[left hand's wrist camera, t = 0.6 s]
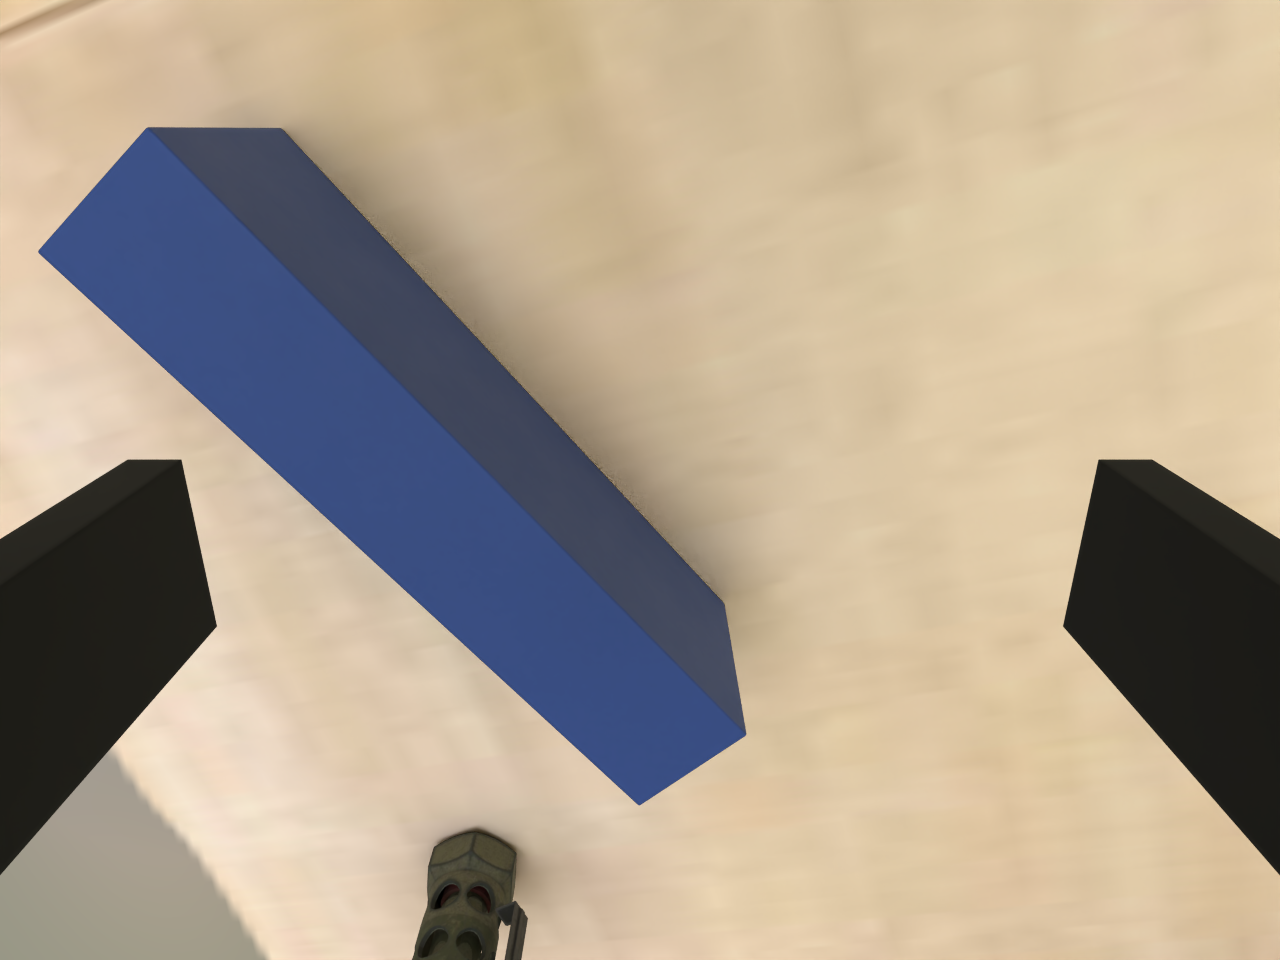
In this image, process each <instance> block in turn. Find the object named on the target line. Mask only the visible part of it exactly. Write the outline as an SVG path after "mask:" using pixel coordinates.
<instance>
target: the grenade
mask: <svg viewBox="0 0 1280 960" xmlns="http://www.w3.org/2000/svg"><path fill="white" fill-rule="evenodd" d="M515 875H516V853H515V852H514V851H513V850H512V849H510V848H509V847H508V846H507V845H505V844H503V843H502V842H500V841H499V840H497V839H495V838H492V837H490V836H488V835H485V834H481V833H478V832H472V833H465V834H462V835H458V836H455V837H453V838H450V839H448V840H446V841H444V842H442V843H440V844H439V845H437V846H435V847H434V849H433V852H432V856H431V859H430V862H429V866H428V882H427V893H428V906H427V909H426V912H425V915H424V917H423V920H422V924H421V927H420V930H419V934H418V937H417V941H416V944H415V952H414V956H413V959H412V960H495V956H496V951H497V945H498V939H499V931H498V929H499V926H500V923H501V920H502V921H503V923H504V924H505V925H507V926H508V925H511V927H510V933H509V938H508V944H507V949H506V955H505V960H521V958H522V951H523V945H524V939H525V933H526V926H527V920H528V918H527V916H526V915H525V912H524V911H523V909H521V908H520V906H519V905H518V904H517V902H516V901H514V902H512V900H513V894H514V888H515ZM481 950H482V953H481Z"/></svg>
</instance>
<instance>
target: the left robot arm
mask: <svg viewBox="0 0 1280 960" xmlns="http://www.w3.org/2000/svg"><path fill="white" fill-rule="evenodd" d="M216 627H217V624H216V620H215V615H214V610H213V606H212V601H211V596H210V592H209V587H208V582H207V578H206V573H205V568H204V564H203V559H202V554H201V549H200V545H199V540H198V535H197V531H196V526H195V521H194V517H193V512H192V507H191V503H190V498H189V493H188V489H187V484H186V479H185V475H184V470H183V465H182V460H126V461H125V462H123V463H122V464H120V465H118V466H117V467H115V468H114V469H112V470H110V471H109V472H107V473H106V474H104V475H102V476H101V477H99V478H98V479H96V480H94V481H93V482H91V483H90V484H88V485H86V486H85V487H83V488H81V489H80V490H78V491H77V492H75V493H73V494H72V495H70V496H69V497H67V498H65V499H64V500H62V501H61V502H59V503H57V504H56V505H54V506H53V507H51V508H49V509H48V510H46V511H45V512H43V513H41V514H40V515H38V516H37V517H35V518H33V519H32V520H30V521H28V522H27V523H25V524H24V525H22V526H20V527H19V528H17V529H16V530H14V531H12V532H11V533H9V534H8V535H6V536H4V537H3V538H1V539H0V875H1V874H2V872H3V871H4V870H5V869H6V868H7V867H8V865H9V864H10V863H11V862H12V861H13V860H14V859H15V857H16V856H17V855H18V854H19V853H20V852H21V851H22V849H23V848H24V847H25V846H26V845H27V844H28V842H29V841H30V840H31V839H32V838H33V837H34V836H35V835H36V833H37V832H38V831H39V830H40V829H41V828H42V826H43V825H44V824H45V823H46V822H47V821H48V820H49V818H50V817H51V816H52V815H53V814H54V813H55V811H56V810H57V809H58V808H59V807H60V806H61V805H62V803H63V802H64V801H65V800H66V799H67V798H68V797H69V795H70V794H71V793H72V792H73V791H74V790H75V789H76V787H77V786H78V785H79V784H80V783H81V782H82V781H83V779H84V778H85V777H86V776H87V775H88V774H89V772H90V771H91V770H92V769H93V768H94V767H95V766H96V764H97V763H98V762H99V761H100V760H101V759H102V758H103V756H104V755H105V754H106V753H107V752H108V751H109V750H110V748H111V747H112V746H113V745H114V744H115V743H116V742H117V740H118V739H119V738H120V737H121V736H122V735H123V734H124V732H125V731H126V730H127V729H128V728H129V727H130V725H131V724H132V723H133V722H134V721H135V720H136V719H137V717H138V716H139V715H140V714H141V713H142V712H143V711H144V709H145V708H146V707H147V706H148V705H149V704H150V703H151V701H152V700H153V699H154V698H155V697H156V696H157V694H158V693H159V692H160V691H161V690H162V689H163V688H164V686H165V685H166V684H167V683H168V682H169V681H170V680H171V678H172V677H173V676H174V675H175V674H176V673H177V672H178V670H179V669H180V668H181V667H182V666H183V665H184V664H185V662H186V661H187V660H188V659H189V658H190V657H191V655H192V654H193V653H194V652H195V651H196V650H197V649H198V647H199V646H200V645H201V644H202V643H203V642H204V641H205V639H206V638H207V637H208V636H209V635H210V634H211V633H212V631H213V630H214V629H215V628H216ZM1063 627H1064V628H1065V629H1066V630H1067V631H1068V633H1069V634H1070V635H1071V636H1072V637H1073V638H1074V639H1075V641H1076V642H1077V643H1078V644H1079V645H1080V646H1081V647H1082V649H1083V650H1084V651H1085V652H1086V653H1087V654H1088V655H1089V657H1090V658H1091V659H1092V660H1093V661H1094V662H1095V664H1096V665H1097V666H1098V667H1099V668H1100V669H1101V670H1102V672H1103V673H1104V674H1105V675H1106V676H1107V677H1108V678H1109V680H1110V681H1111V682H1112V683H1113V684H1114V685H1115V686H1116V688H1117V689H1118V690H1119V691H1120V692H1121V693H1122V694H1123V696H1124V697H1125V698H1126V699H1127V700H1128V701H1129V703H1130V704H1131V705H1132V706H1133V707H1134V708H1135V709H1136V711H1137V712H1138V713H1139V714H1140V715H1141V716H1142V717H1143V719H1144V720H1145V721H1146V722H1147V723H1148V724H1149V725H1150V727H1151V728H1152V729H1153V730H1154V731H1155V732H1156V734H1157V735H1158V736H1159V737H1160V738H1161V739H1162V740H1163V742H1164V743H1165V744H1166V745H1167V746H1168V747H1169V748H1170V750H1171V751H1172V752H1173V753H1174V754H1175V755H1176V756H1177V758H1178V759H1179V760H1180V761H1181V762H1182V763H1183V765H1184V766H1185V767H1186V768H1187V769H1188V770H1189V771H1190V773H1191V774H1192V775H1193V776H1194V777H1195V778H1196V779H1197V781H1198V782H1199V783H1200V784H1201V785H1202V786H1203V787H1204V789H1205V790H1206V791H1207V792H1208V793H1209V794H1210V795H1211V797H1212V798H1213V799H1214V800H1215V801H1216V802H1217V804H1218V805H1219V806H1220V807H1221V808H1222V809H1223V810H1224V812H1225V813H1226V814H1227V815H1228V816H1229V817H1230V818H1231V820H1232V821H1233V822H1234V823H1235V824H1236V825H1237V826H1238V828H1239V829H1240V830H1241V831H1242V832H1243V833H1244V835H1245V836H1246V837H1247V838H1248V839H1249V840H1250V841H1251V843H1252V844H1253V845H1254V846H1255V847H1256V848H1257V849H1258V851H1259V852H1260V853H1261V854H1262V855H1263V856H1264V857H1265V859H1266V860H1267V861H1268V862H1269V863H1270V864H1271V865H1272V867H1273V868H1274V869H1275V870H1276V871H1277V872H1278V874H1279V875H1280V539H1279V538H1277V537H1276V536H1274V535H1272V534H1271V533H1269V532H1268V531H1266V530H1264V529H1263V528H1261V527H1260V526H1258V525H1256V524H1255V523H1253V522H1252V521H1250V520H1248V519H1247V518H1245V517H1243V516H1242V515H1240V514H1239V513H1237V512H1235V511H1234V510H1232V509H1231V508H1229V507H1227V506H1226V505H1224V504H1223V503H1221V502H1219V501H1218V500H1216V499H1215V498H1213V497H1211V496H1210V495H1208V494H1207V493H1205V492H1203V491H1202V490H1200V489H1199V488H1197V487H1195V486H1194V485H1192V484H1190V483H1189V482H1187V481H1186V480H1184V479H1182V478H1181V477H1179V476H1178V475H1176V474H1174V473H1173V472H1171V471H1170V470H1168V469H1166V468H1165V467H1163V466H1162V465H1160V464H1158V463H1157V462H1155V461H1154V460H1098V465H1097V470H1096V474H1095V479H1094V484H1093V489H1092V493H1091V498H1090V503H1089V507H1088V512H1087V517H1086V521H1085V526H1084V531H1083V535H1082V540H1081V545H1080V549H1079V554H1078V559H1077V564H1076V568H1075V573H1074V578H1073V582H1072V587H1071V592H1070V596H1069V601H1068V606H1067V610H1066V615H1065V620H1064V624H1063Z"/></svg>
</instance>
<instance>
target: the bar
mask: <svg viewBox="0 0 1280 960" xmlns="http://www.w3.org/2000/svg"><path fill="white" fill-rule="evenodd" d="M38 252H39V254H40V255H41V256H43V257H44V258H45V259H46V260H47V261H48V262H49V263H50V264H51V265H52V266H53V267H54V268H56V269H57V270H58V271H59V272H60V273H61V274H62V275H63V276H64V277H65V278H66V279H67V280H69V281H70V282H71V283H72V284H73V285H74V286H75V287H76V288H77V289H78V290H79V291H81V292H82V293H83V294H84V295H85V296H86V297H87V298H88V299H89V300H90V301H91V302H92V303H94V304H95V305H96V306H97V307H98V308H99V309H100V310H101V311H102V312H103V313H104V314H106V315H107V316H108V317H109V318H110V319H111V320H112V321H113V322H114V323H115V324H116V325H117V326H119V327H120V328H121V329H122V330H123V331H124V332H125V333H126V334H127V335H128V336H129V337H130V338H132V339H133V340H134V341H135V342H136V343H137V344H138V345H139V346H140V347H141V348H142V349H144V350H145V351H146V352H147V353H148V354H149V355H150V356H151V357H152V358H153V359H154V360H155V361H157V362H158V363H159V364H160V365H161V366H162V367H163V368H164V369H165V370H166V371H167V372H169V373H170V374H171V375H172V376H173V377H174V378H175V379H176V380H177V381H178V382H179V383H180V384H182V385H183V386H184V387H185V388H186V389H187V390H188V391H189V392H190V393H191V394H192V395H194V396H195V397H196V398H197V399H198V400H199V401H200V402H201V403H202V404H203V405H204V406H205V407H207V408H208V409H209V410H210V411H211V412H212V413H213V414H214V415H215V416H216V417H217V418H218V419H220V420H221V421H222V422H223V423H224V424H225V425H226V426H227V427H228V428H229V429H230V430H232V431H233V432H234V433H235V434H236V435H237V436H238V437H239V438H240V439H241V440H242V441H243V442H245V443H246V444H247V445H248V446H249V447H250V448H251V449H252V450H253V451H254V452H255V453H257V454H258V455H259V456H260V457H261V458H262V459H263V460H264V461H265V462H266V463H267V464H268V465H270V466H271V467H272V468H273V469H274V470H275V471H276V472H277V473H278V474H279V475H280V476H281V477H283V478H284V479H285V480H286V481H287V482H288V483H289V484H290V485H291V486H292V487H293V488H295V489H296V490H297V491H298V492H299V493H300V494H301V495H302V496H303V497H304V498H305V499H306V500H308V501H309V502H310V503H311V504H312V505H313V506H314V507H315V508H316V509H317V510H318V511H320V512H321V513H322V514H323V515H324V516H325V517H326V518H327V519H328V520H329V521H330V522H331V523H333V524H334V525H335V526H336V527H337V528H338V529H339V530H340V531H341V532H342V533H343V534H344V535H346V536H347V537H348V538H349V539H350V540H351V541H352V542H353V543H354V544H355V545H356V546H358V547H359V548H360V549H361V550H362V551H363V552H364V553H365V554H366V555H367V556H368V557H369V558H371V559H372V560H373V561H374V562H375V563H376V564H377V565H378V566H379V567H380V568H381V569H383V570H384V571H385V572H386V573H387V574H388V575H389V576H390V577H391V578H392V579H393V580H394V581H396V582H397V583H398V584H399V585H400V586H401V587H402V588H403V589H404V590H405V591H406V592H407V593H409V594H410V595H411V596H412V597H413V598H414V599H415V600H416V601H417V602H418V603H419V604H421V605H422V606H423V607H424V608H425V609H426V610H427V611H428V612H429V613H430V614H431V615H432V616H434V617H435V618H436V619H437V620H438V621H439V622H440V623H441V624H442V625H443V626H444V627H446V628H447V629H448V630H449V631H450V632H451V633H452V634H453V635H454V636H455V637H456V638H457V639H459V640H460V641H461V642H462V643H463V644H464V645H465V646H466V647H467V648H468V649H469V650H470V651H472V652H473V653H474V654H475V655H476V656H477V657H478V658H479V659H480V660H481V661H482V662H484V663H485V664H486V665H487V666H488V667H489V668H490V669H491V670H492V671H493V672H494V673H495V674H497V675H498V676H499V677H500V678H501V679H502V680H503V681H504V682H505V683H506V684H507V685H509V686H510V687H511V688H512V689H513V690H514V691H515V692H516V693H517V694H518V695H519V696H520V697H522V698H523V699H524V700H525V701H526V702H527V703H528V704H529V705H530V706H531V707H532V708H533V709H535V710H536V711H537V712H538V713H539V714H540V715H541V716H542V717H543V718H544V719H545V720H547V721H548V722H549V723H550V724H551V725H552V726H553V727H554V728H555V729H556V730H557V731H558V732H560V733H561V734H562V735H563V736H564V737H565V738H566V739H567V740H568V741H569V742H570V743H572V744H573V745H574V746H575V747H576V748H577V749H578V750H579V751H580V752H581V753H582V754H583V755H585V756H586V757H587V758H588V759H589V760H590V761H591V762H592V763H593V764H594V765H595V766H596V767H598V768H599V769H600V770H601V771H602V772H603V773H604V774H605V775H606V776H607V777H608V778H610V779H611V780H612V781H613V782H614V783H615V784H616V785H617V786H618V787H619V788H620V789H621V790H623V791H624V792H625V793H626V794H627V795H628V796H629V797H630V798H631V799H632V800H633V801H635V802H636V803H637V804H638V805H641V804H643V803H644V802H646V801H647V800H649V799H650V798H652V797H653V796H655V795H656V794H658V793H659V792H661V791H662V790H664V789H665V788H667V787H668V786H670V785H671V784H673V783H674V782H676V781H677V780H679V779H681V778H682V777H684V776H685V775H687V774H688V773H690V772H691V771H693V770H694V769H696V768H697V767H699V766H700V765H702V764H703V763H705V762H706V761H708V760H709V759H711V758H712V757H714V756H715V755H717V754H718V753H720V752H722V751H723V750H725V749H726V748H728V747H729V746H731V745H732V744H734V743H735V742H737V741H738V740H740V739H741V738H743V737H744V736H746V729H745V723H744V717H743V711H742V705H741V699H740V694H739V688H738V682H737V676H736V670H735V664H734V658H733V652H732V646H731V640H730V634H729V628H728V623H727V617H726V611H725V605H724V603H723V602H722V601H721V600H720V599H719V598H718V597H717V596H716V594H715V593H714V592H713V591H712V590H711V589H710V588H709V587H708V586H707V585H706V584H705V583H704V582H703V580H702V579H701V578H700V577H699V576H698V575H697V574H696V573H695V572H694V571H693V570H692V569H691V568H690V567H689V565H688V564H687V563H686V562H685V561H684V560H683V559H682V558H681V557H680V556H679V555H678V554H677V553H676V552H675V550H674V549H673V548H672V547H671V546H670V545H669V544H668V543H667V542H666V541H665V540H664V539H663V538H662V536H661V535H660V534H659V533H658V532H657V531H656V530H655V529H654V528H653V527H652V526H651V525H650V524H649V523H648V521H647V520H646V519H645V518H644V517H643V516H642V515H641V514H640V513H639V512H638V511H637V510H636V509H635V507H634V506H633V505H632V504H631V503H630V502H629V501H628V500H627V499H626V498H625V497H624V496H623V495H622V494H621V492H620V491H619V490H618V489H617V488H616V487H615V486H614V485H613V484H612V483H611V482H610V481H609V480H608V479H607V477H606V476H605V475H604V474H603V473H602V472H601V471H600V470H599V469H598V468H597V467H596V466H595V465H594V463H593V462H592V461H591V460H590V459H589V458H588V457H587V456H586V455H585V454H584V453H583V452H582V451H581V450H580V448H579V447H578V446H577V445H576V444H575V443H574V442H573V441H572V440H571V439H570V438H569V437H568V436H567V434H566V433H565V432H564V431H563V430H562V429H561V428H560V427H559V426H558V425H557V424H556V423H555V422H554V421H553V419H552V418H551V417H550V416H549V415H548V414H547V413H546V412H545V411H544V410H543V409H542V408H541V407H540V405H539V404H538V403H537V402H536V401H535V400H534V399H533V398H532V397H531V396H530V395H529V394H528V393H527V392H526V390H525V389H524V388H523V387H522V386H521V385H520V384H519V383H518V382H517V381H516V380H515V379H514V378H513V377H512V375H511V374H510V373H509V372H508V371H507V370H506V369H505V368H504V367H503V366H502V365H501V364H500V363H499V361H498V360H497V359H496V358H495V357H494V356H493V355H492V354H491V353H490V352H489V351H488V350H487V349H486V348H485V346H484V345H483V344H482V343H481V342H480V341H479V340H478V339H477V338H476V337H475V336H474V335H473V334H472V332H471V331H470V330H469V329H468V328H467V327H466V326H465V325H464V324H463V323H462V322H461V321H460V320H459V319H458V317H457V316H456V315H455V314H454V313H453V312H452V311H451V310H450V309H449V308H448V307H447V306H446V305H445V304H444V302H443V301H442V300H441V299H440V298H439V297H438V296H437V295H436V294H435V293H434V292H433V291H432V290H431V288H430V287H429V286H428V285H427V284H426V283H425V282H424V281H423V280H422V279H421V278H420V277H419V276H418V275H417V273H416V272H415V271H414V270H413V269H412V268H411V267H410V266H409V265H408V264H407V263H406V262H405V261H404V259H403V258H402V257H401V256H400V255H399V254H398V253H397V252H396V251H395V250H394V249H393V248H392V247H391V246H390V244H389V243H388V242H387V241H386V240H385V239H384V238H383V237H382V236H381V235H380V234H379V233H378V232H377V231H376V229H375V228H374V227H373V226H372V225H371V224H370V223H369V222H368V221H367V220H366V219H365V218H364V217H363V215H362V214H361V213H360V212H359V211H358V210H357V209H356V208H355V207H354V206H353V205H352V204H351V203H350V202H349V200H348V199H347V198H346V197H345V196H344V195H343V194H342V193H341V192H340V191H339V190H338V189H337V188H336V186H335V185H334V184H333V183H332V182H331V181H330V180H329V179H328V178H327V177H326V176H325V175H324V174H323V173H322V171H321V170H320V169H319V168H318V167H317V166H316V165H315V164H314V163H313V162H312V161H311V160H310V159H309V158H308V156H307V155H306V154H305V153H304V152H303V151H302V150H301V149H300V148H299V147H298V146H297V145H296V144H295V142H294V141H293V140H292V139H291V138H290V137H289V136H288V135H287V134H286V133H285V132H284V131H283V130H282V129H281V128H175V127H148V128H146V129H145V130H144V131H143V133H142V134H141V135H140V136H139V137H138V138H137V139H136V141H135V142H134V143H133V144H132V145H131V146H130V147H129V148H128V150H127V151H126V152H125V153H124V154H123V155H122V156H121V158H120V159H119V160H118V161H117V162H116V163H115V164H114V166H113V167H112V168H111V169H110V170H109V171H108V172H107V173H106V175H105V176H104V177H103V178H102V179H101V180H100V181H99V183H98V184H97V185H96V186H95V187H94V188H93V189H92V190H91V192H90V193H89V194H88V195H87V196H86V197H85V198H84V200H83V201H82V202H81V203H80V204H79V205H78V206H77V207H76V209H75V210H74V211H73V212H72V213H71V214H70V215H69V217H68V218H67V219H66V220H65V221H64V222H63V223H62V225H61V226H60V227H59V228H58V229H57V230H56V231H55V232H54V234H53V235H52V236H51V237H50V238H49V239H48V240H47V242H46V243H45V244H44V245H43V246H42V247H41V248H40V249H39V251H38Z"/></svg>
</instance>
